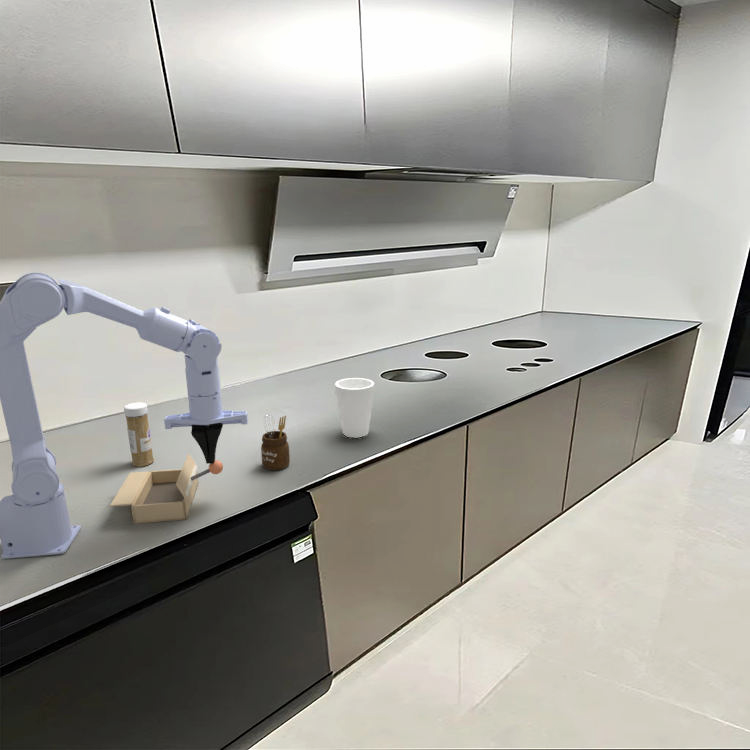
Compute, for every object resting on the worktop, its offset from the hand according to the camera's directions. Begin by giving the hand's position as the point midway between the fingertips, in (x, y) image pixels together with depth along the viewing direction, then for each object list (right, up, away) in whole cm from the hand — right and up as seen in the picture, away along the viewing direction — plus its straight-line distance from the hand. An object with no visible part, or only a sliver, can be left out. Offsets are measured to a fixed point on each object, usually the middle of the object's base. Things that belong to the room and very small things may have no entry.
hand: (210, 461), depth 104 cm
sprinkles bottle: (-20, -3, +18) cm, 27 cm away
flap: (-4, -3, 0) cm, 5 cm away
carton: (-10, -8, +1) cm, 13 cm away
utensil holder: (+9, -4, +16) cm, 19 cm away
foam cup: (+26, +1, +33) cm, 42 cm away
